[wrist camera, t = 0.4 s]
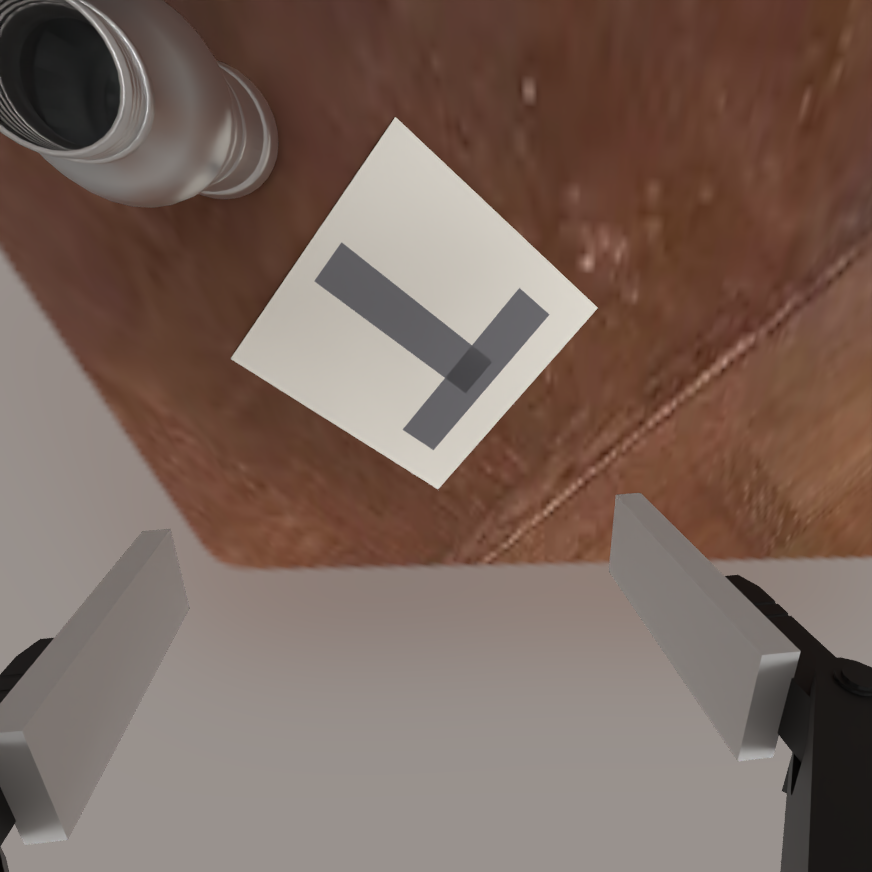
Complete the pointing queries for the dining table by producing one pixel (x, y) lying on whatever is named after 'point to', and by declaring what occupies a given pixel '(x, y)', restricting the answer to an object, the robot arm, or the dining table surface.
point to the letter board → (413, 313)
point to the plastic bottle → (130, 102)
